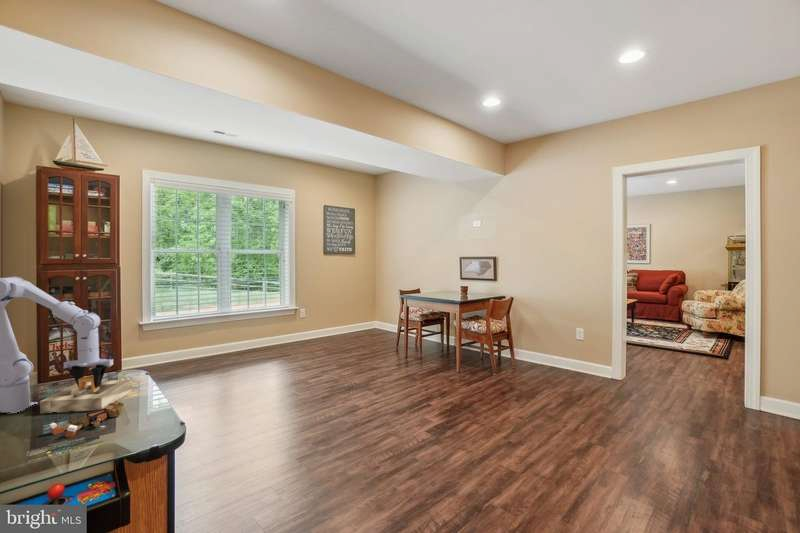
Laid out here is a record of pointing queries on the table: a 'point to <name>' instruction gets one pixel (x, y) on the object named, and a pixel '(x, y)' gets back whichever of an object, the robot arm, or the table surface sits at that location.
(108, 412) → the character figurine
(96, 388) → the bracket
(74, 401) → the rectangular frame
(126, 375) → the table surface
